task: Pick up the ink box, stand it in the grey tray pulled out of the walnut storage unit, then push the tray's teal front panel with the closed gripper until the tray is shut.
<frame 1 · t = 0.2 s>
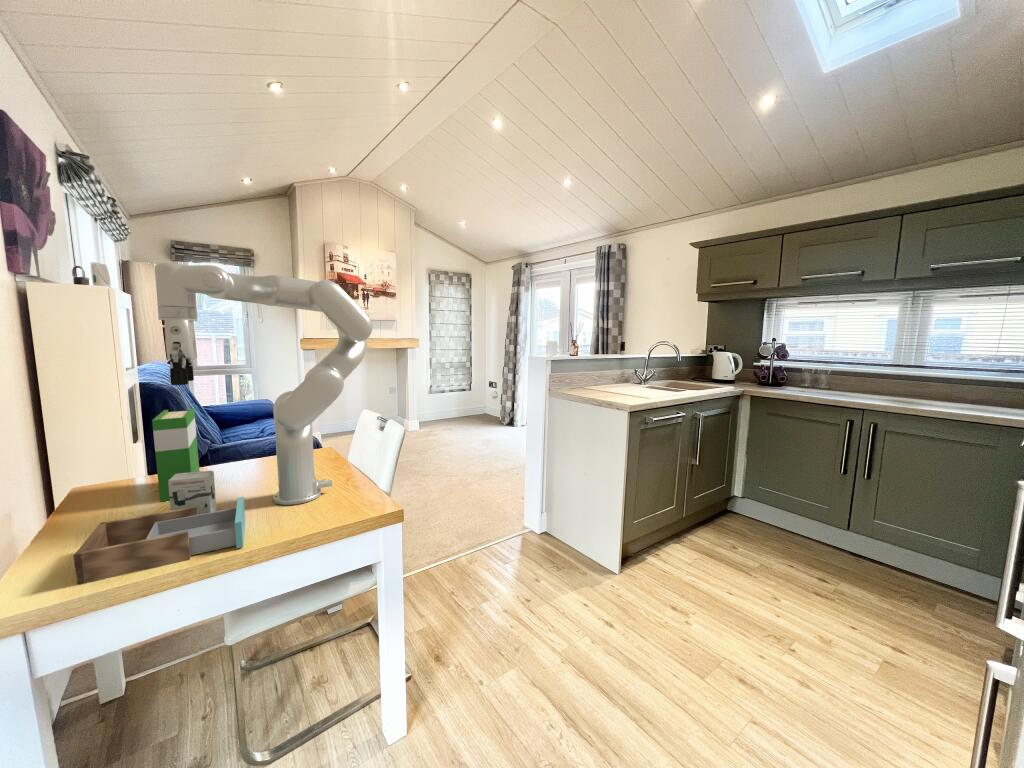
hand: (183, 382, 102), 36 cm above the table, tool pointing down, fingers open, 9 cm apart
ink box: (194, 519, 105), on the table
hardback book: (181, 490, 124), on the table
storage unit: (150, 552, 88), on the table
tray: (198, 528, 92), point 3 cm above the table, slide at 8.0 cm
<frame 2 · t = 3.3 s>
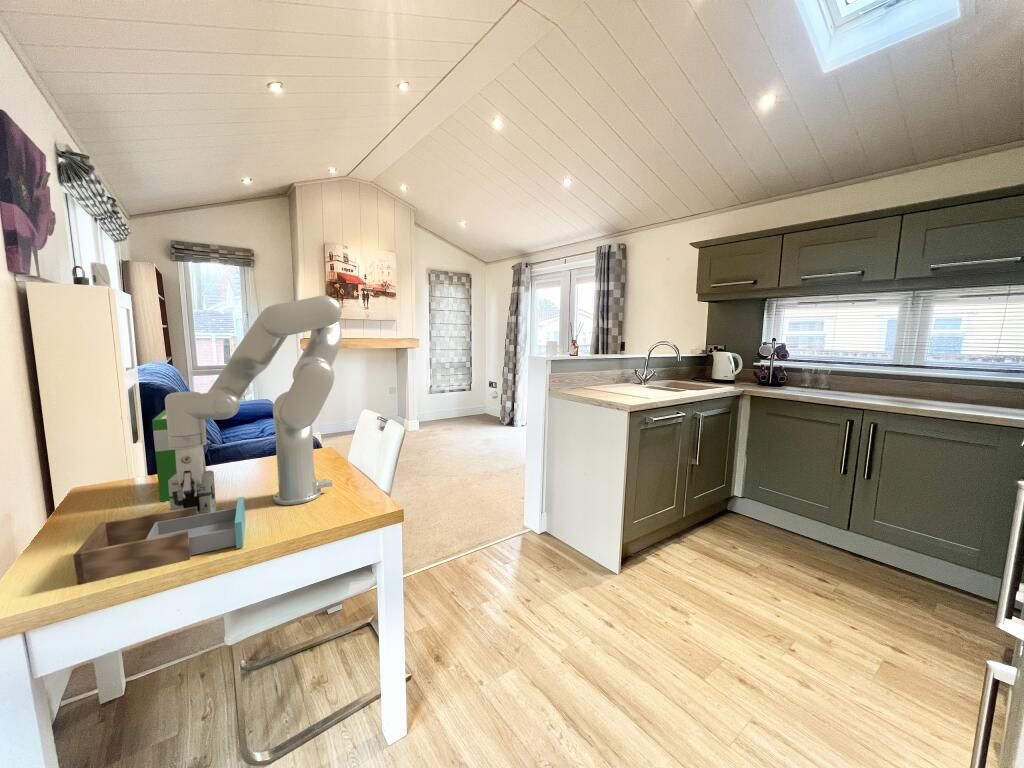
hand: (193, 507, 104), 3 cm above the table, tool pointing down, fingers closed on ink box, 5 cm apart
ink box: (194, 519, 105), on the table, touching gripper
everything else where it was.
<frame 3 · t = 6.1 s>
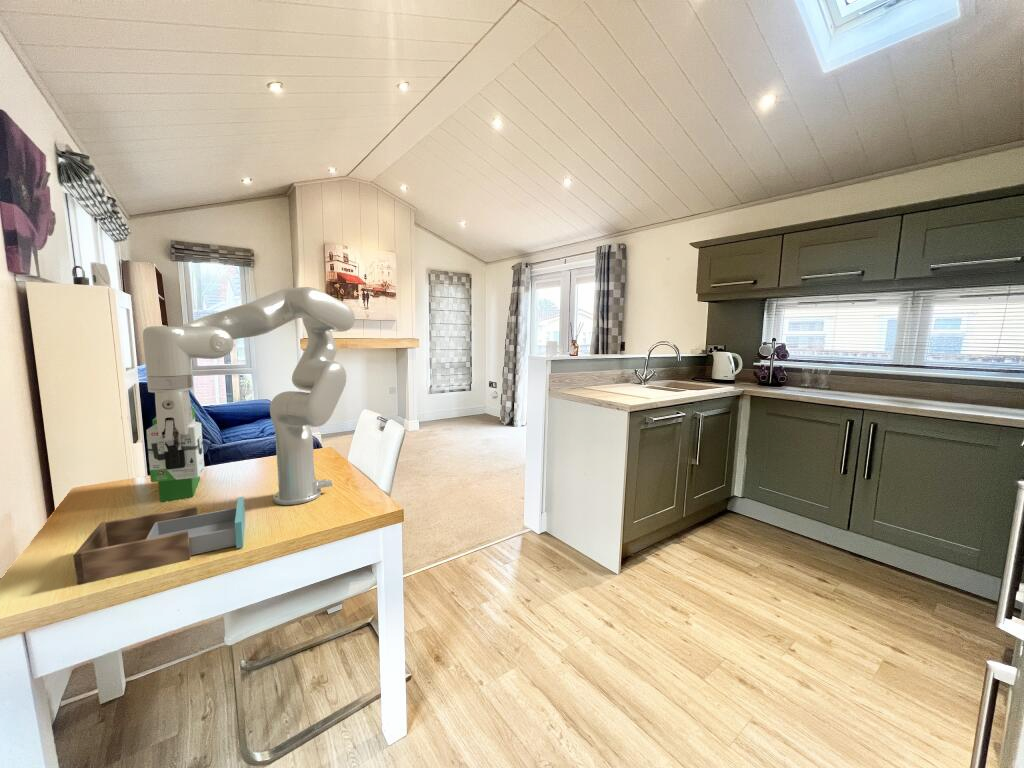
hand: (178, 463, 89), 19 cm above the table, tool pointing down, fingers closed on ink box, 5 cm apart
ink box: (179, 477, 90), point 16 cm above the table, touching gripper
everything else where it was.
when the fingers open (5 cm above the table, at t = 9.0 s): ink box stays where it is, resting on tray.
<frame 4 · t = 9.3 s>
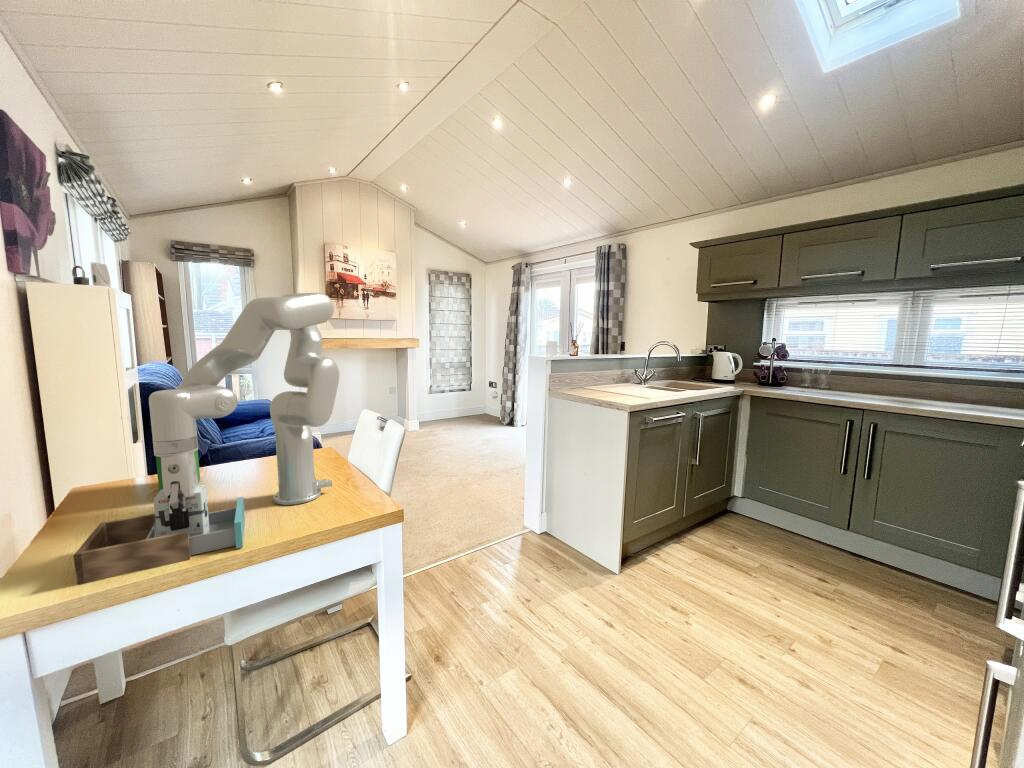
hand: (183, 521, 91), 6 cm above the table, tool pointing down, fingers open, 7 cm apart
ink box: (185, 540, 91), point 1 cm above the table, touching tray
tray: (198, 528, 92), point 3 cm above the table, slide at 7.9 cm, touching ink box
everything else where it was.
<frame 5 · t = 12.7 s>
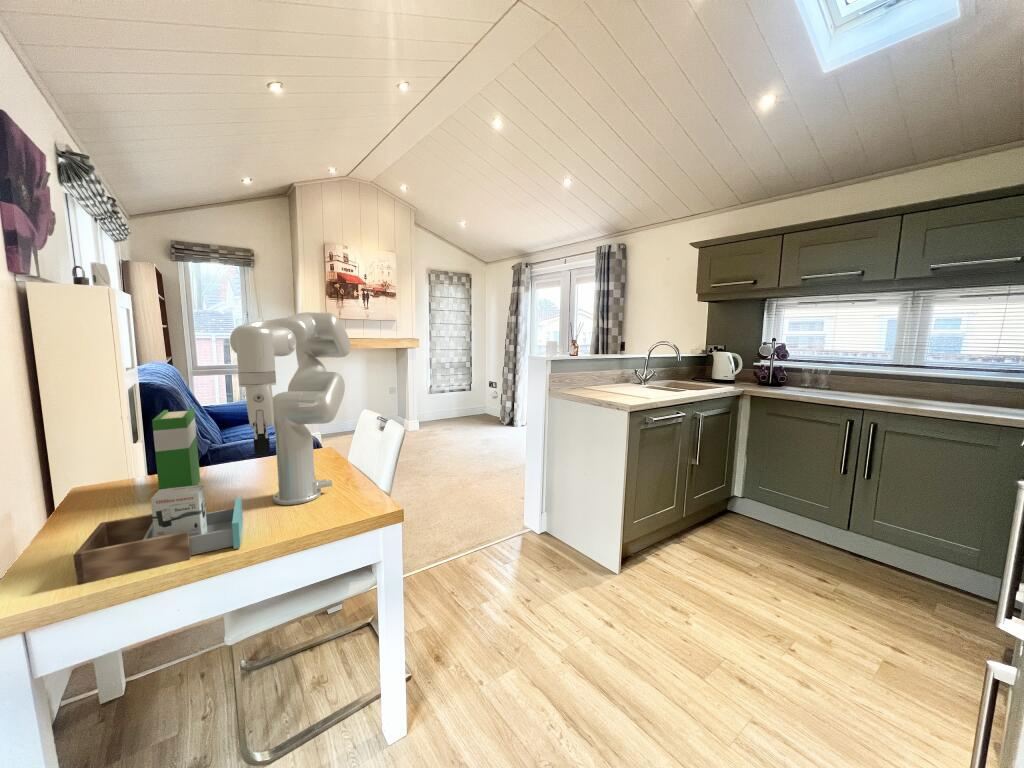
hand: (262, 453, 98), 19 cm above the table, tool pointing down, fingers closed
tray: (195, 529, 92), point 3 cm above the table, slide at 7.5 cm, touching ink box
everything else where it was.
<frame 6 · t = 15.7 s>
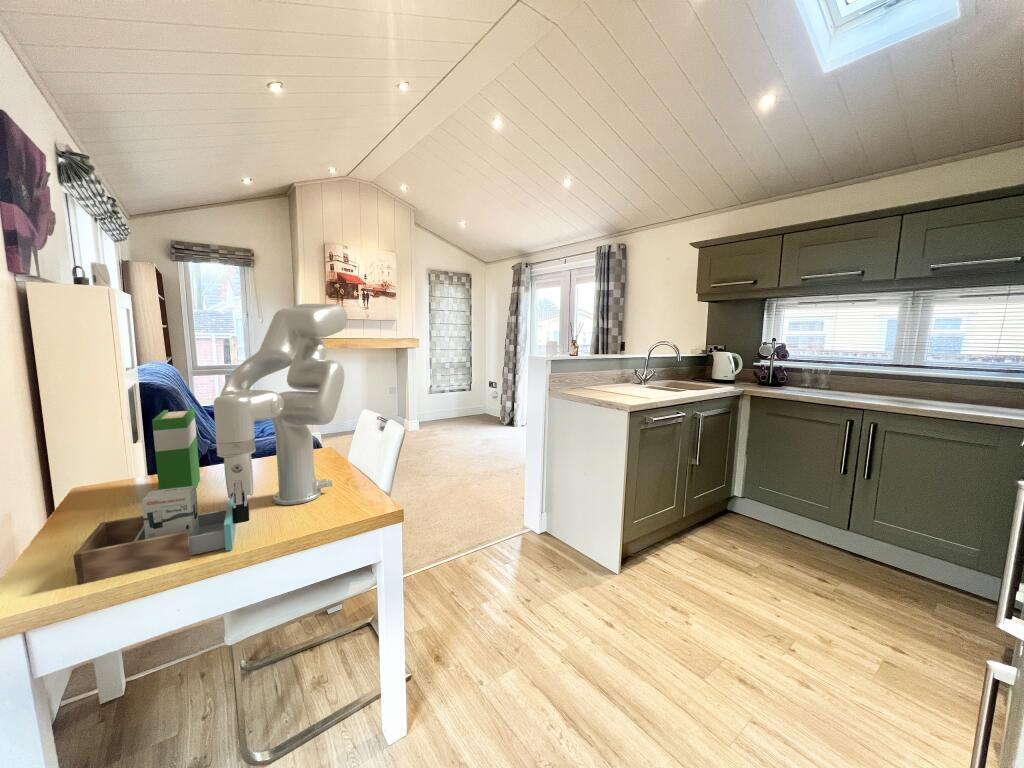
hand: (241, 521, 96), 3 cm above the table, tool pointing down, fingers closed
ink box: (174, 543, 90), point 1 cm above the table, touching tray
tray: (187, 530, 91), point 3 cm above the table, slide at 6.0 cm, touching gripper, ink box
everything else where it was.
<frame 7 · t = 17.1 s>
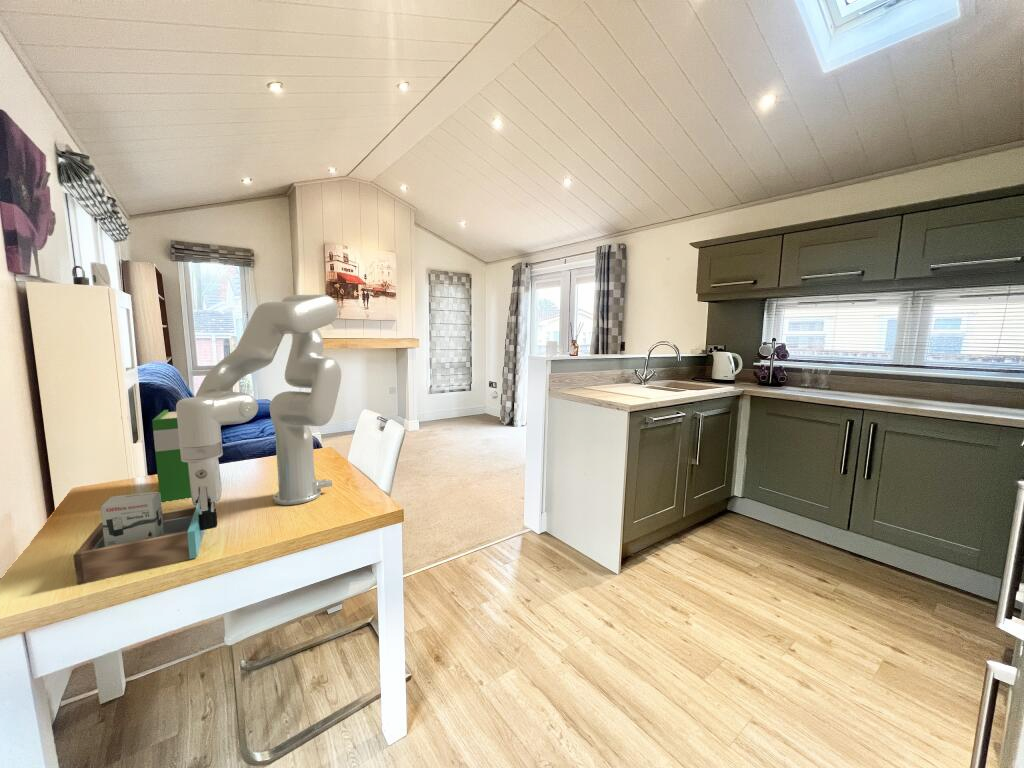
hand: (208, 527, 93), 3 cm above the table, tool pointing down, fingers closed
ink box: (136, 550, 87), point 1 cm above the table, touching tray
tray: (151, 538, 88), point 3 cm above the table, slide at -0.3 cm, touching gripper, ink box
everything else where it was.
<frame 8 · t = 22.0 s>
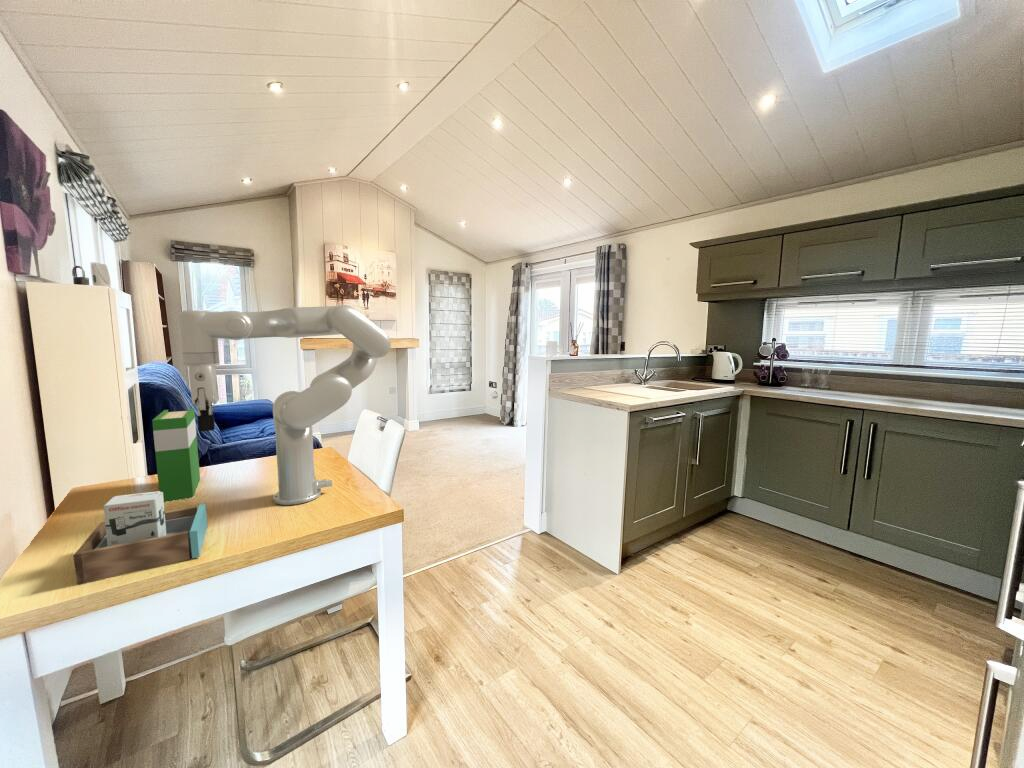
hand: (206, 430, 104), 23 cm above the table, tool pointing down, fingers closed
tray: (153, 537, 88), point 3 cm above the table, slide at 0.2 cm, touching ink box
everything else where it was.
at the end: tray slide at 0.2 cm; ink box inside the target area on the storage unit (1.3 cm from its centre), point 1.1 cm above the storage unit's base; ink box tilted 0° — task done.
